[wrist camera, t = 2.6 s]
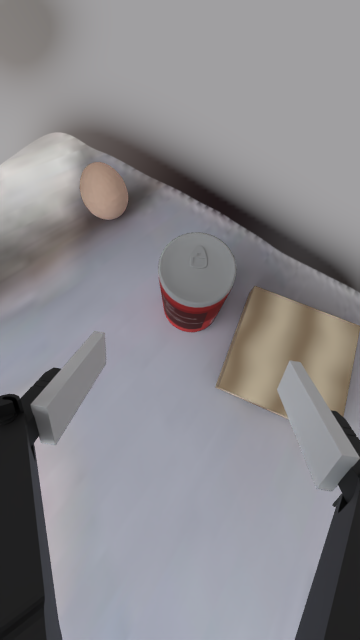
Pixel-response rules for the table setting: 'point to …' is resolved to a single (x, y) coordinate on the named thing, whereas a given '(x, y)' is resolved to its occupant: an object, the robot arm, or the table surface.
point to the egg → (103, 191)
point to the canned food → (195, 279)
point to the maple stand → (288, 351)
